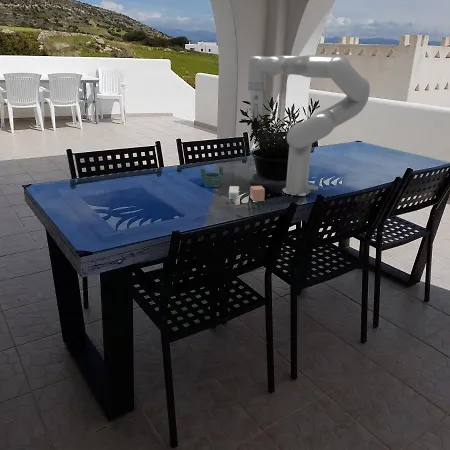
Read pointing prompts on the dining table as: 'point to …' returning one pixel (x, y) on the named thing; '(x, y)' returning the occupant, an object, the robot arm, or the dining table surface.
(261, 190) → the terracotta block
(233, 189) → the cream block
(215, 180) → the green basket
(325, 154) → the dining table surface
